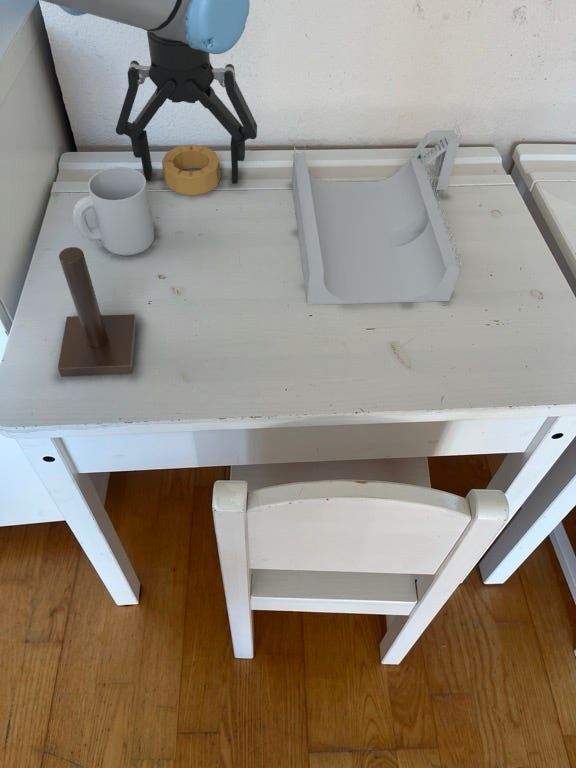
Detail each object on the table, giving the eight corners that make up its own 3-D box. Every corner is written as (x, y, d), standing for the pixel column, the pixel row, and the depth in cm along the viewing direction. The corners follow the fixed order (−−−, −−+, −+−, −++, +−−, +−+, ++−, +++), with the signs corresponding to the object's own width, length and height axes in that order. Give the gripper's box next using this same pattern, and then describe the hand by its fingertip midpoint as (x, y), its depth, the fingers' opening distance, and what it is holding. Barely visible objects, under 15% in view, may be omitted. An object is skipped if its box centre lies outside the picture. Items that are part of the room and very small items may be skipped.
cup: (161, 249, 86) (153, 193, 78) (88, 267, 83) (72, 212, 76) (147, 217, 89) (137, 161, 82) (76, 234, 87) (59, 178, 80)
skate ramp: (292, 185, 95) (295, 123, 87) (439, 183, 97) (456, 122, 89) (307, 304, 80) (312, 243, 72) (481, 300, 82) (505, 239, 74)
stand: (60, 376, 72) (23, 284, 60) (69, 324, 77) (36, 229, 65) (132, 373, 73) (108, 281, 61) (136, 322, 77) (115, 227, 66)
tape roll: (153, 178, 95) (151, 161, 93) (192, 156, 99) (191, 138, 97) (192, 202, 92) (190, 184, 90) (231, 177, 96) (230, 160, 94)
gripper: (276, 17, 81) (273, 164, 98) (83, 9, 80) (114, 159, 97) (275, 45, 76) (272, 194, 93) (70, 37, 76) (105, 189, 93)
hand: (192, 176), depth 95 cm, fingers open, 12 cm apart
